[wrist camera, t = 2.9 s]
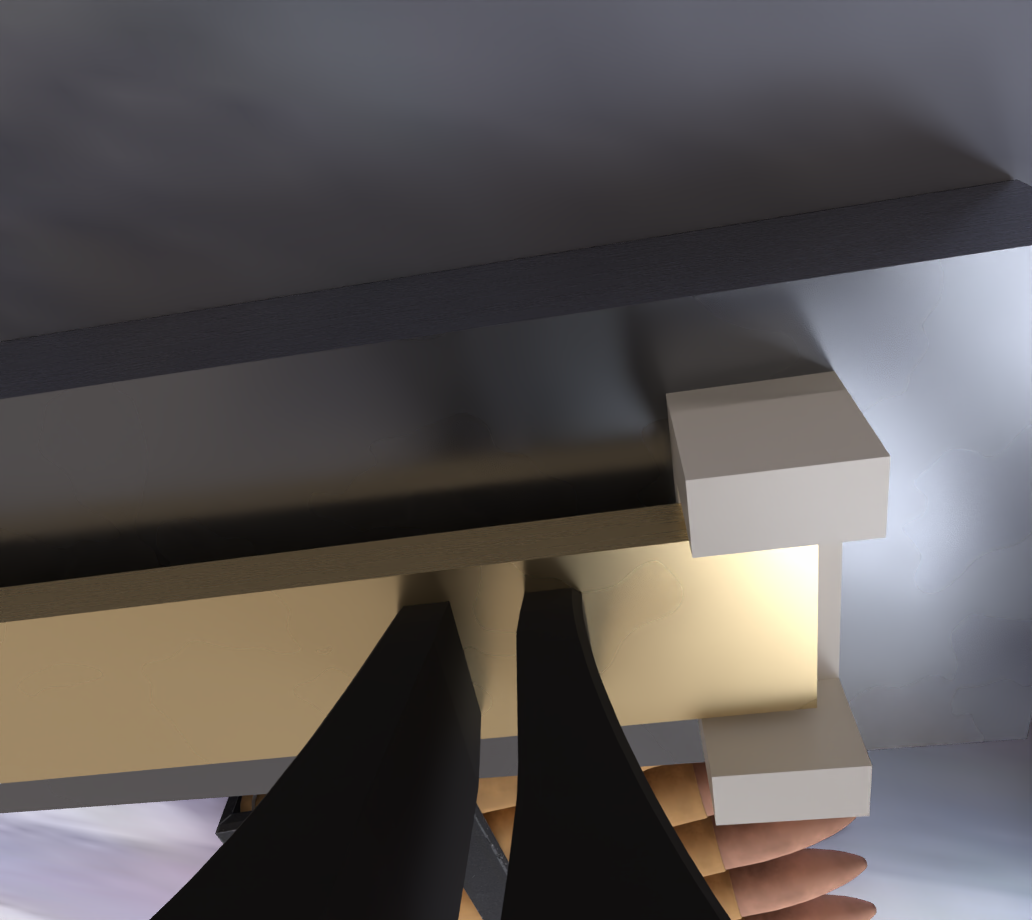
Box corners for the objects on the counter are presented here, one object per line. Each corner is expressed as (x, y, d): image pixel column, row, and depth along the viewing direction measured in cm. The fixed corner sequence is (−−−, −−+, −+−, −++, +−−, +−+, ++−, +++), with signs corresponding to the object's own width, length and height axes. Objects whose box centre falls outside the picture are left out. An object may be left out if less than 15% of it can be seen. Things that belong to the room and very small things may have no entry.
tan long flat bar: (796, 479, 10) (823, 536, 9) (798, 654, 12) (821, 719, 11) (-220, 607, 12) (-293, 667, 11) (-108, 745, 14) (-162, 808, 13)
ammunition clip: (427, 1007, 23) (874, 933, 20) (419, 1086, 21) (904, 1013, 19) (241, 753, 18) (809, 619, 15) (212, 830, 16) (841, 692, 14)
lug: (834, 371, 10) (889, 455, 8) (828, 700, 13) (869, 816, 11) (665, 394, 10) (685, 480, 8) (696, 711, 13) (716, 825, 11)
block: (1016, 180, 11) (1243, 287, 7) (961, 628, 15) (1090, 845, 11) (-212, 376, 14) (-503, 528, 10) (20, 713, 18) (-126, 911, 14)
